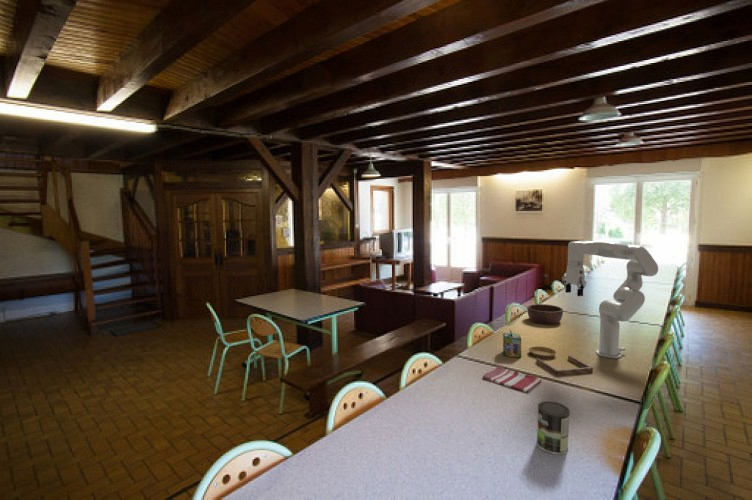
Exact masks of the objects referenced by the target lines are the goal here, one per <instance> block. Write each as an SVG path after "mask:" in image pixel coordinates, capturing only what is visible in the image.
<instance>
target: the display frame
mask: <svg viewBox="0 0 752 500" xmlns="http://www.w3.org/2000/svg"><path fill="white" fill-rule="evenodd" d="M567 360H568V361H569V362H571V363H573V364H575V365H577V366H578V367H575V368H567V369H566V368H565V369H556V368H555V367H553V366H552V365H550V364H549V363H546V362H545V361H543V360H542V359H541V358H540V357H536V359H535V362H536V363H537V364H538V365H539V366H540V367H542V368H544V369H545V370H546V371H548V372H550V373H551V374H553V375H554V376H556V377H559V376H568V375H569V376H571V375H578V374H579V375H581V374H589V373H590V374H591V373H593V372H594V367H593V366H591V365H589V364H587V363H585V362H583V361H582V360H579V359H578V358H575V357H574V356H572V355H569V354H568V355H567Z"/></svg>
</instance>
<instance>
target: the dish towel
mask: <svg viewBox="0 0 752 500" xmlns="http://www.w3.org/2000/svg"><path fill="white" fill-rule="evenodd" d="M482 379H483V380H485V381H488V382H492V383H495V384H497V385H501V386H504V387H506V388H507V387H508V388H509V389H512V390H516V391H519V392H522V393H525V394H530V393H531V392H532V391H534V390H535V389H536V388H538V387H539V386H540V385H541V384H542V383H543V382H542V379H541V378H540V377H536V376H533V375H529V374H523V373H521V372H517V371H513V370H510V369H506V368H503V366H497V367H496V368H495V369H493V370H491V371H489V372H486V373H485V374H484V375H483V376H482Z"/></svg>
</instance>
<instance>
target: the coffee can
mask: <svg viewBox="0 0 752 500" xmlns="http://www.w3.org/2000/svg"><path fill="white" fill-rule="evenodd" d="M537 409H538V410H537V429H536V430H537V433H536V434H537V435H536V445H537V446H538V447H539V449H541V450H542V451H544V452H546V453H548V454H552V455H564V454H567V452H568V451H569V433H570V432H569V431H570V430H569V428H570V413H571V411H570V408H568V406H566V405H564V404H562V403H559V402H555V401H550V400H549V401H541V402H539V403H538V404H537Z"/></svg>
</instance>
